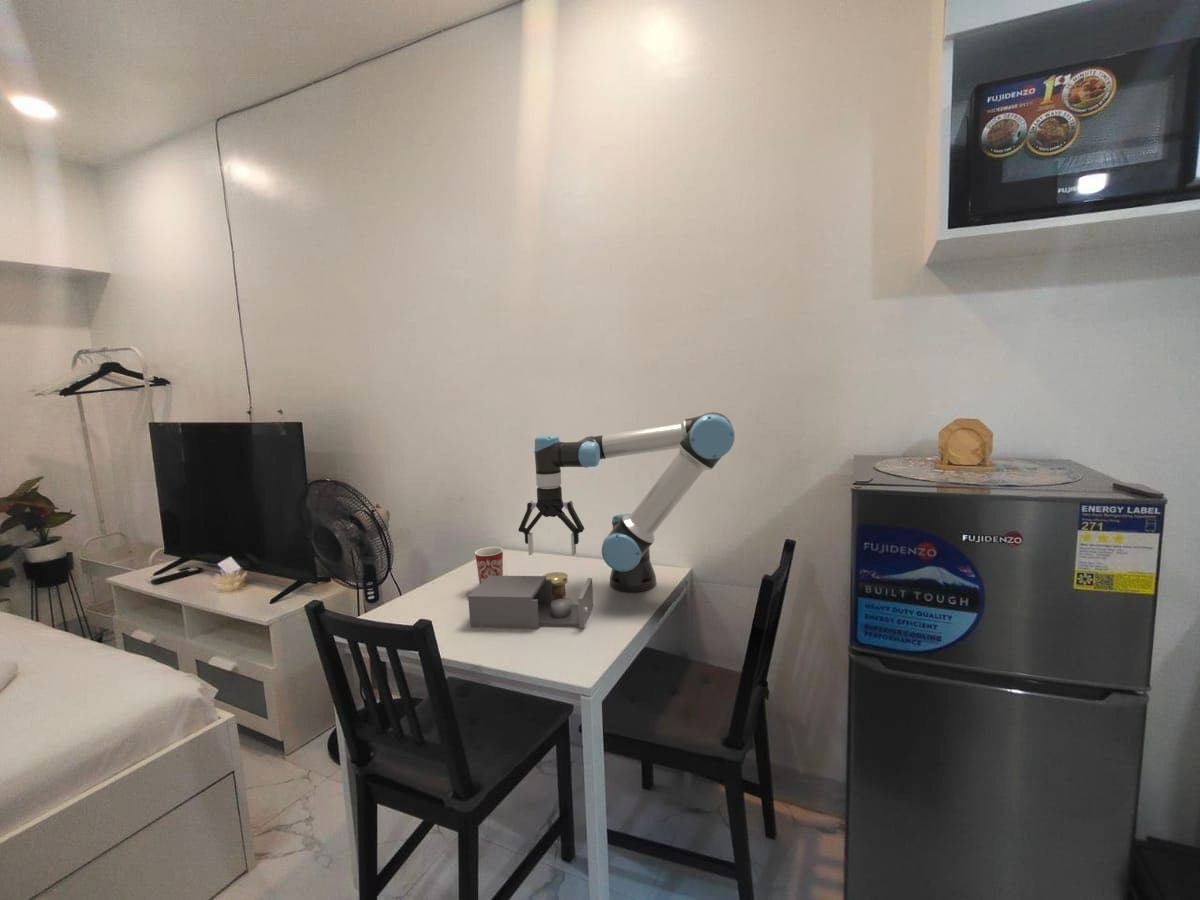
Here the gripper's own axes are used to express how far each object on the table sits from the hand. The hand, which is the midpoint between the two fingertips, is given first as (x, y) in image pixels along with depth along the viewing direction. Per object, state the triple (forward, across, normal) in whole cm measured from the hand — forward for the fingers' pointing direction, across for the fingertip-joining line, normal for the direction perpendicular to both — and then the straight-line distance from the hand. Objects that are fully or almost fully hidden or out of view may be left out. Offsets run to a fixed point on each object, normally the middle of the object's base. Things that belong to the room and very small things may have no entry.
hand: (552, 554), depth 165 cm
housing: (+14, +10, +14) cm, 22 cm away
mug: (+14, +23, -6) cm, 27 cm away
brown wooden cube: (+14, 0, 0) cm, 14 cm away
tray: (+13, -4, +14) cm, 20 cm away
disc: (+9, 0, 0) cm, 9 cm away
